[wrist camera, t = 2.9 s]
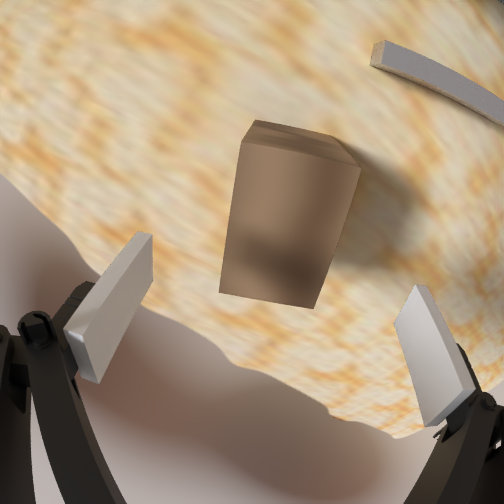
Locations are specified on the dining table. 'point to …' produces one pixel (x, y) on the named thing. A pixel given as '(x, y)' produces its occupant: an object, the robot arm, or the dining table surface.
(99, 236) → the dining table surface
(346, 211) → the wooden box
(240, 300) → the dining table surface
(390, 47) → the cleat rail
